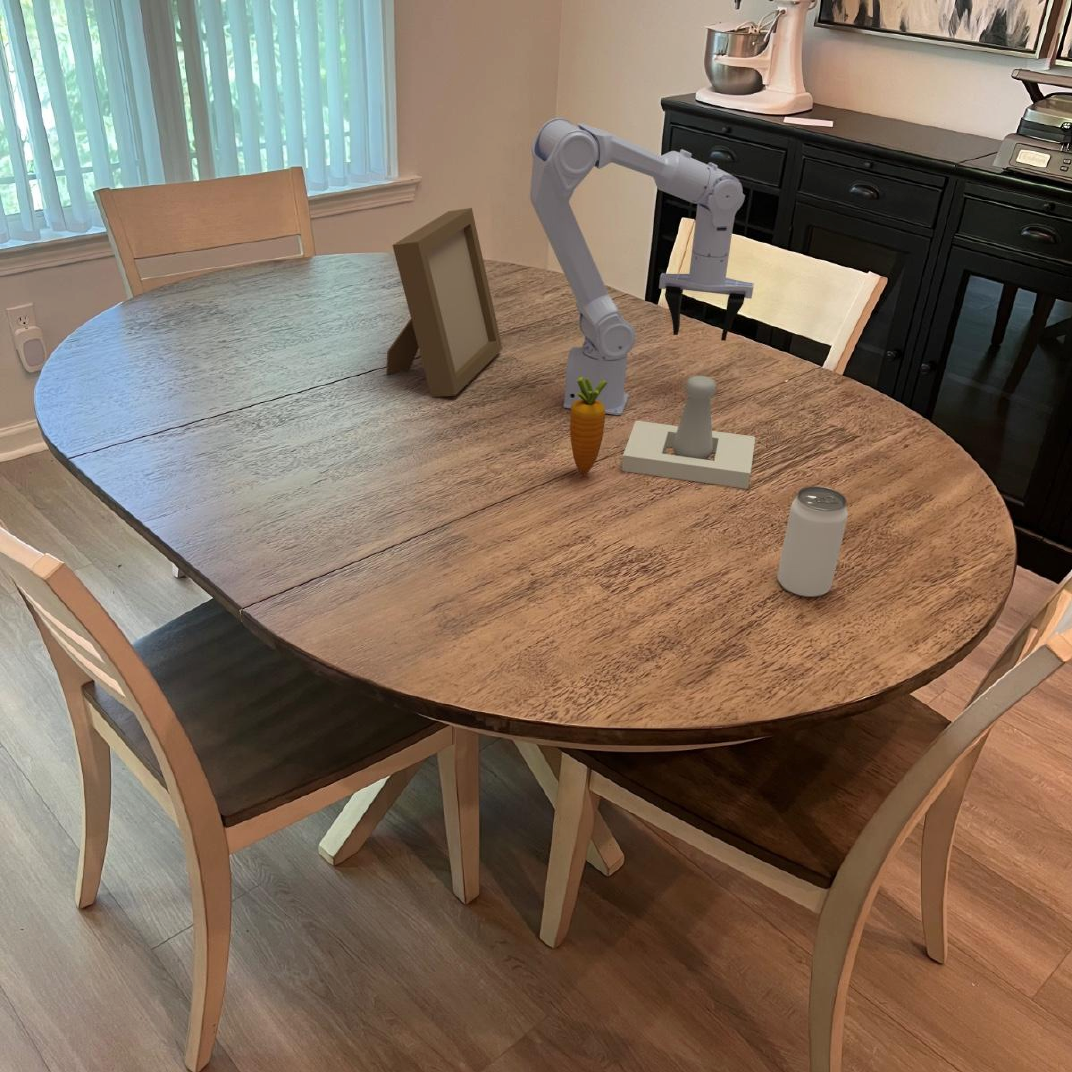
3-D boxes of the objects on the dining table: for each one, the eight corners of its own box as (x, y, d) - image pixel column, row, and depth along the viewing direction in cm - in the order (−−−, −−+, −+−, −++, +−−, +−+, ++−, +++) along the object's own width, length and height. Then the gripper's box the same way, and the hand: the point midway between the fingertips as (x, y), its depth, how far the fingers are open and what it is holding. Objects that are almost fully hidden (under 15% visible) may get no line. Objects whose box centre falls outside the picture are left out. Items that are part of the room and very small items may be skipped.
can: (770, 569, 127) (786, 484, 121) (821, 568, 128) (839, 483, 122) (785, 599, 122) (803, 512, 116) (838, 598, 123) (858, 511, 116)
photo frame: (502, 354, 184) (503, 211, 170) (455, 401, 166) (452, 246, 153) (426, 342, 188) (421, 202, 174) (372, 387, 170) (362, 234, 157)
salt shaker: (702, 474, 148) (714, 391, 141) (665, 464, 150) (675, 381, 143) (716, 458, 152) (728, 376, 145) (680, 449, 154) (690, 368, 148)
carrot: (604, 471, 148) (613, 373, 140) (595, 486, 144) (603, 387, 136) (571, 464, 149) (578, 367, 141) (561, 479, 145) (567, 380, 137)
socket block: (621, 470, 148) (623, 455, 147) (634, 435, 158) (635, 420, 157) (748, 489, 145) (750, 473, 143) (752, 451, 155) (755, 436, 153)
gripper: (759, 249, 161) (746, 332, 168) (666, 240, 164) (658, 322, 171) (756, 262, 155) (743, 347, 162) (661, 252, 158) (652, 336, 165)
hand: (699, 335), depth 166 cm, fingers open, 7 cm apart
